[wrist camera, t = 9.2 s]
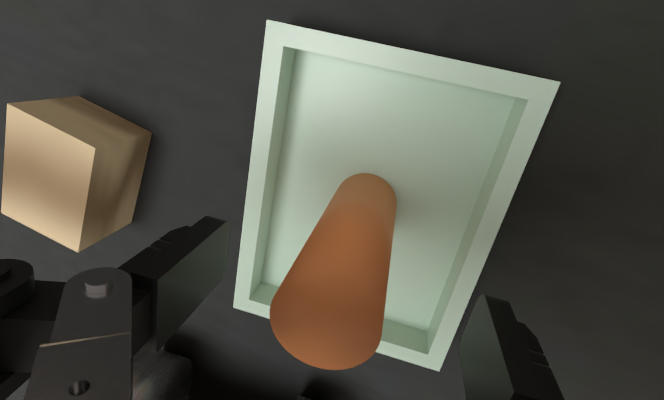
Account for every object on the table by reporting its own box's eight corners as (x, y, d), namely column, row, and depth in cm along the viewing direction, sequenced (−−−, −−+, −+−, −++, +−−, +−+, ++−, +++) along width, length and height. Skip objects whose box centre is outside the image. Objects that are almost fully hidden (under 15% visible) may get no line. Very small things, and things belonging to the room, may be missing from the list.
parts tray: (287, 25, 17) (266, 19, 14) (538, 78, 15) (560, 82, 13) (251, 281, 22) (232, 307, 20) (436, 337, 21) (439, 371, 18)
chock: (81, 95, 20) (7, 103, 16) (153, 132, 20) (95, 148, 16) (68, 188, 23) (1, 212, 19) (133, 221, 22) (78, 252, 19)
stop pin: (341, 166, 18) (277, 260, 9) (404, 182, 17) (395, 294, 9) (329, 222, 19) (262, 350, 10) (387, 238, 18) (366, 383, 10)
